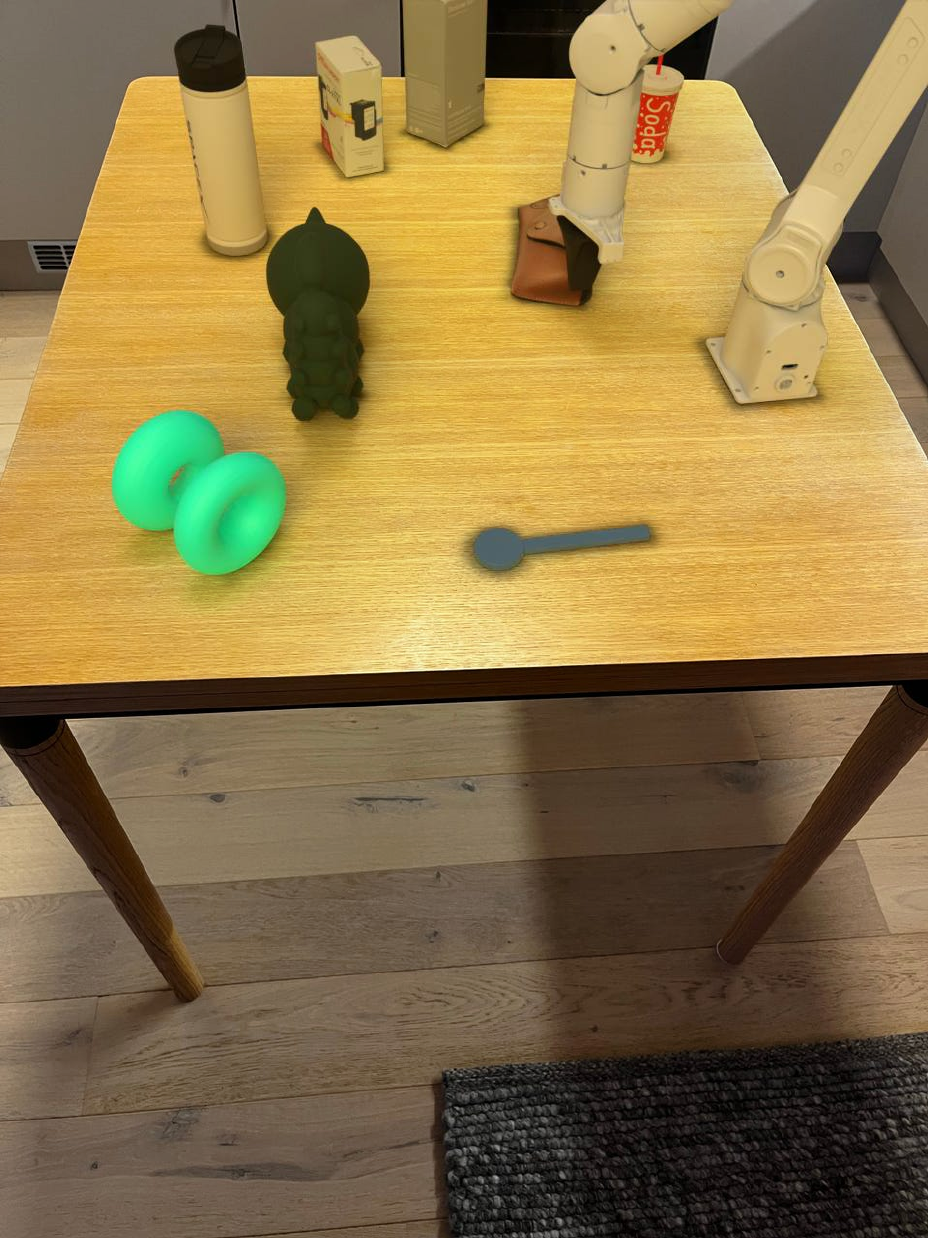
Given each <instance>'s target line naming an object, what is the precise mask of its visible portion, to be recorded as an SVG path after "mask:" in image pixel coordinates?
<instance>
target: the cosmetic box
mask: <svg viewBox="0 0 928 1238" xmlns="http://www.w3.org/2000/svg"><path fill="white" fill-rule="evenodd" d="M402 19H403V21H402V22H403V25H402V26H403V53H404V55H403V56H404V57H403V58H404V91H405V93H404V94H405V123H406V124H405V125H406V127H405V129H406V132H408V133H410V134H411V135H415V136H417V137H420V138H423V139H425V140H428V141H430V142H432V143H435V144H437V145H439V146H442V147H444V148H448V147H450V146H451V145H453V144H454V143H455V142H457V141H458V140H461V139H462V138H464V137H465V136H467V135H469V134H470V133H472V132H474V131H475V130H477V129H478V128H480V127H483V125H484V123H485V96H486V95H485V93H486V64H487V63H486V61H487V60H486V59H487V58H486V57H487V30H488V29H487V26H488V25H487V24H488V0H402Z"/></svg>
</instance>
